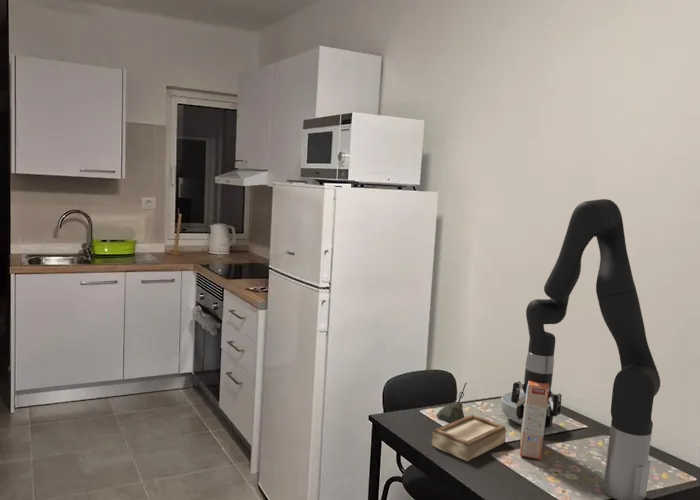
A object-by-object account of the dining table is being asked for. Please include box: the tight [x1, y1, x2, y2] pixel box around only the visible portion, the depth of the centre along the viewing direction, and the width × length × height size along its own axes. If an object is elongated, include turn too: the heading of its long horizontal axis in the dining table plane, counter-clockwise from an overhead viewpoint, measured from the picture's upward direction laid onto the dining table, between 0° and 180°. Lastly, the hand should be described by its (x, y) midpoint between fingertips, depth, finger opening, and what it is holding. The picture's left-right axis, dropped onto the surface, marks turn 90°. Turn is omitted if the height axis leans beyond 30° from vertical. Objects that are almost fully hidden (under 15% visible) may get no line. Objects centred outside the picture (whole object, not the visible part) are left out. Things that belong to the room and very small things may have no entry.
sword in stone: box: [436, 382, 467, 424], centre depth 195 cm, size 10×8×12 cm
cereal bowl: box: [500, 391, 555, 426], centre depth 197 cm, size 17×17×7 cm
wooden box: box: [431, 413, 507, 462], centre depth 177 cm, size 12×20×5 cm, turn 136°
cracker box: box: [519, 381, 549, 460], centre depth 175 cm, size 14×6×21 cm, turn 164°
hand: (533, 423), depth 176 cm, fingers closed on cracker box, 8 cm apart
